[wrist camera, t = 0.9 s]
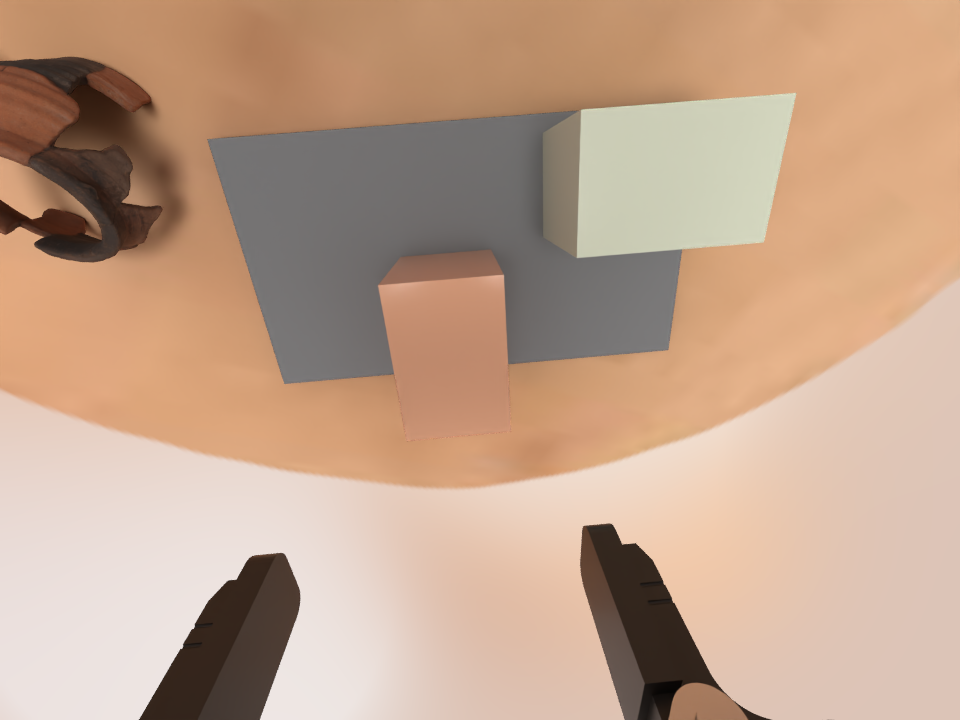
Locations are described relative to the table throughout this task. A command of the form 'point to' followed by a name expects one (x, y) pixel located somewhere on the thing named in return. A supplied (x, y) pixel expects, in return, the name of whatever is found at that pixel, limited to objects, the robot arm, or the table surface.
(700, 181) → the pale green cuboid
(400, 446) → the table surface
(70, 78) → the brown sculpted ring
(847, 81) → the table surface
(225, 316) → the table surface
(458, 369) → the upright salmon pillar
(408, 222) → the slate mat
